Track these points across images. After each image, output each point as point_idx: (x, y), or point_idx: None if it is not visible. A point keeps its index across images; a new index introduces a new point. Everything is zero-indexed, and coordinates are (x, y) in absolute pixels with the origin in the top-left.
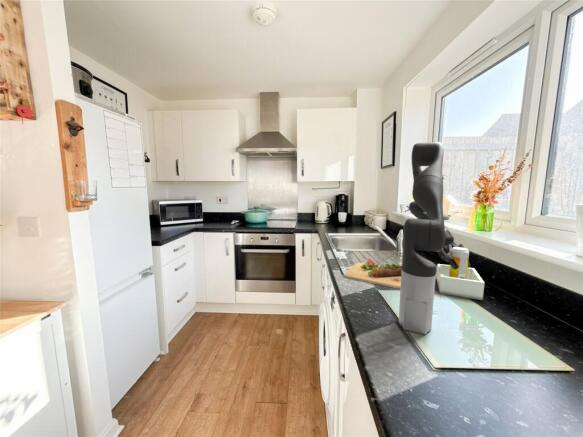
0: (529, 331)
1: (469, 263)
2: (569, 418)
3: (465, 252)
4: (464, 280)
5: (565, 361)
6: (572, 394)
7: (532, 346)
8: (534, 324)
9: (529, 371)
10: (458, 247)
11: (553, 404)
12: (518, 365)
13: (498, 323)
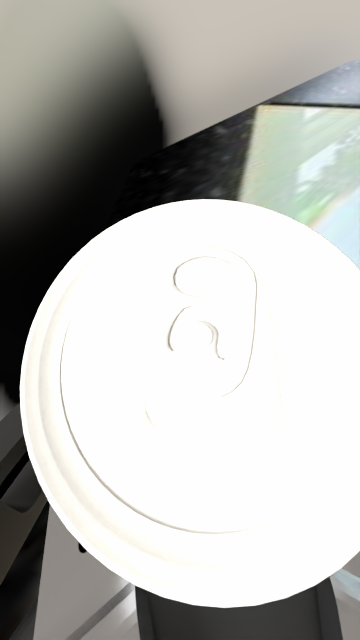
0: (223, 165)
1: None
2: (347, 66)
3: (214, 225)
4: None
5: (251, 115)
6: (308, 83)
7: (264, 137)
8: (187, 180)
9: (326, 105)
10: (102, 521)
11: (346, 75)
12: (331, 112)
13: (258, 188)
